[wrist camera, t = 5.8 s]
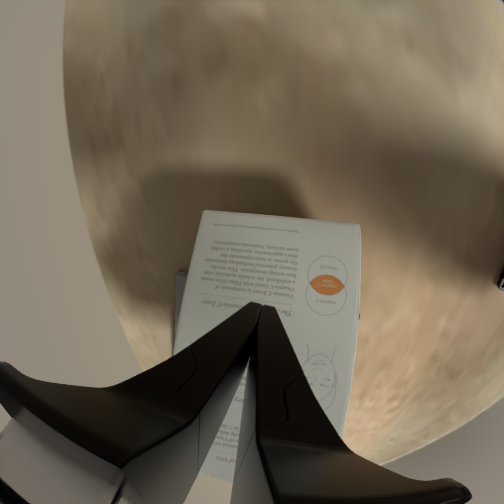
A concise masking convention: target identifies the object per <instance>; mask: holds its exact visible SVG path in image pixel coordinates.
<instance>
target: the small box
mask: <svg viewBox="0 0 504 504" xmlns="http://www.w3.org/2000/svg"><path fill="white" fill-rule="evenodd" d="M360 281H361V231H360V225H359V224H356V223H345V222H336V221H326V220H317V219H306V218H296V217H285V216H274V215H263V214H251V213H237V212H225V211H212V210H204V211H203V213H202V217H201V220H200V225H199V229H198V233H197V237H196V241H195V246H194V250H193V254H192V258H191V262H190V267H189V271H188V275H187V280H186V284H185V289H184V294H183V299H182V304H181V309H180V314H179V319H178V325H177V331H176V336H175V342H174V348H173V354H172V356H174V355H175V354H177V353H178V352H180V351H181V350H183V349H184V348H186V347H189V345H190V344H192V343H193V342H195V341H196V340H197V339H199V338H200V337H202V336H203V335H204V334H206V333H207V332H209V331H210V330H212V329H213V328H214V327H216V326H217V325H219V324H220V323H221V322H223V321H224V320H225V319H227V318H228V317H230V316H231V315H232V314H234V313H235V312H236V311H238V310H239V309H241V308H242V307H243V306H245V305H246V304H247V303H249V302H251V301H252V302H256V303H261V304H262V306H263V305H269V306H274V307H275V308H276V310H277V312H278V314H279V317H280V319H281V321H282V323H283V326H284V328H285V330H286V333H287V335H288V337H289V339H290V342H291V344H292V346H293V349H294V351H295V353H296V355H297V358H298V360H299V362H300V364H301V367H302V369H303V371H304V375H305V376H306V378H307V380H308V383H309V385H310V387H311V389H312V391H313V393H314V395H315V397H316V399H317V400H318V402H319V404H320V405H321V407H322V409H323V411H324V412H325V414H326V415H327V417H328V418H329V420H330V422H331V423H332V425H333V426H334V428H335V429H336V431H337V433H338V434H339V436H340V437H341V439H342V436H343V432H344V426H345V421H346V416H347V410H348V404H349V397H350V391H351V384H352V376H353V368H354V360H355V352H356V342H357V331H358V320H359V304H360ZM249 359H250V358H249ZM248 363H249V362H248ZM247 368H248V365H247ZM247 368H246V370H245V373H244V375H243V377H242V380H241V382H240V384H239V387H238V389H237V391H236V393H235V396H234V398H233V400H232V402H231V405H230V407H229V409H228V411H227V413H226V416H225V418H224V420H223V422H222V424H221V427H220V429H219V431H218V433H217V435H216V437H215V440H214V442H213V444H212V446H211V448H210V450H209V452H208V454H207V456H206V458H205V461H204V463H203V465H202V467H201V469H200V471H199V473H198V474H200V475H205V476H209V477H212V478H216V479H220V480H223V481H226V482H230V483H233V479H234V472H235V464H236V456H237V448H238V440H239V432H240V424H241V416H242V408H243V400H244V392H245V384H246V375H247Z"/></svg>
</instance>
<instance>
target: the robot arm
mask: <svg viewBox="0 0 504 504" xmlns="http://www.w3.org/2000/svg"><path fill="white" fill-rule="evenodd" d="M497 286H498V288H499V289H500V290H501V291H504V270H503V272H502V275H501V277H500V279H499V281H498V284H497ZM249 358H250V359H249ZM248 362H249V363H248ZM247 365H248V368H247ZM246 368H247V375H246V384H245V392H244V400H243V408H242V416H241V424H240V432H239V440H238V448H237V456H236V464H235V472H234V479H233V488H232V495H231V502H230V504H465V503H466V502H468V501H469V500H470V499H471V498H472V494H471V493H470V491H469V490H468V488H467V487H465V486H464V485H463V484H461V483H459V482H457V481H455V480H453V479H451V478H443V479H437V480H431V481H421V480H415V479H410V478H407V477H405V476H402V475H400V474H397V473H395V472H392V471H390V470H388V469H386V468H384V467H382V466H379V465H377V464H375V463H373V462H371V461H369V460H367V459H365V458H363V457H361V456H359V455H357V454H355V453H354V452H353V451H351V450H350V449H349V448H348V447H347V445H346V444H345V443H344V442H343V440H342V439H341V437H340V436H339V434H338V433H337V431H336V429H335V428H334V426H333V425H332V423H331V422H330V420H329V418H328V417H327V415H326V414H325V412H324V411H323V409H322V407H321V405H320V404H319V402H318V400H317V399H316V397H315V395H314V393H313V391H312V389H311V387H310V385H309V383H308V380H307V378H306V376H305V375H304V371H303V369H302V367H301V364H300V362H299V360H298V358H297V355H296V353H295V351H294V349H293V346H292V344H291V342H290V339H289V337H288V335H287V333H286V330H285V328H284V326H283V323H282V321H281V319H280V317H279V314H278V312H277V310H276V308H275V307H274V306H269V305H263V306H262V304H261V303H256V302H252V301H251V302H249V303H247V304H246V305H245V306H243V307H242V308H241V309H239V310H238V311H236V312H235V313H234V314H232V315H231V316H230V317H228V318H227V319H225V320H224V321H223V322H221V323H220V324H219V325H217V326H216V327H214V328H213V329H212V330H210V331H209V332H207V333H206V334H204V335H203V336H202V337H200V338H199V339H197V340H196V341H195V342H193V343H192V344H190V345H189V347H186V348H184V349H183V350H181V351H180V352H178V353H177V354H175V355H174V356H172V357H171V358H169V359H167V360H166V361H164V362H162V363H160V364H158V365H156V366H154V367H152V368H150V369H148V370H146V371H144V372H142V373H140V374H138V375H136V376H134V377H132V378H130V379H128V380H126V381H123V382H121V383H119V384H116V385H113V386H110V387H104V388H94V387H84V386H75V385H66V384H59V383H51V382H45V381H40V380H36V379H33V378H30V377H28V376H26V375H24V374H22V373H21V372H19V371H18V370H17V369H16V368H14V367H13V366H12V365H10V364H9V363H6V362H0V403H1V404H2V406H3V407H4V409H5V410H6V411H7V412H8V414H9V415H10V416H11V417H12V419H11V420H10V421H9V422H8V424H7V425H6V426H5V427H4V429H3V430H2V431H1V433H0V504H183V503H184V501H185V499H186V497H187V495H188V493H189V491H190V489H191V487H192V485H193V483H194V481H195V479H196V477H197V475H198V473H199V471H200V469H201V467H202V465H203V463H204V461H205V458H206V456H207V454H208V452H209V450H210V448H211V446H212V444H213V442H214V440H215V437H216V435H217V433H218V431H219V429H220V427H221V424H222V422H223V420H224V418H225V416H226V413H227V411H228V409H229V407H230V405H231V402H232V400H233V398H234V396H235V393H236V391H237V389H238V387H239V384H240V382H241V380H242V377H243V375H244V373H245V370H246Z"/></svg>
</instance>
